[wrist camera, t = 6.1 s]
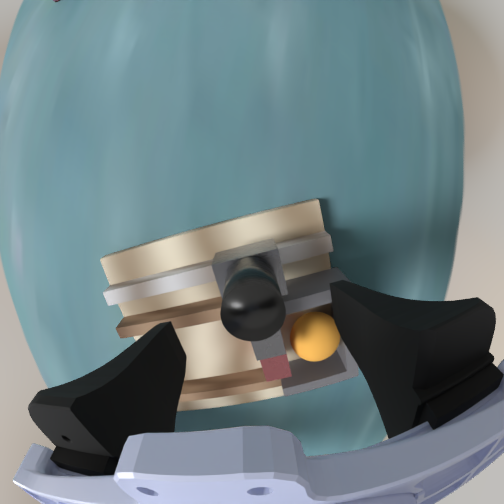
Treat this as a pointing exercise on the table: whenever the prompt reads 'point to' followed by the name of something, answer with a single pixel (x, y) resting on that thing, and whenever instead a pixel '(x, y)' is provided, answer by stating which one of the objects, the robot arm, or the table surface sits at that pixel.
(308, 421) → the table surface
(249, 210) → the table surface
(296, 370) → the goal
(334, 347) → the ball
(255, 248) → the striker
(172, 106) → the table surface
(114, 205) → the table surface
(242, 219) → the beige grooved board
